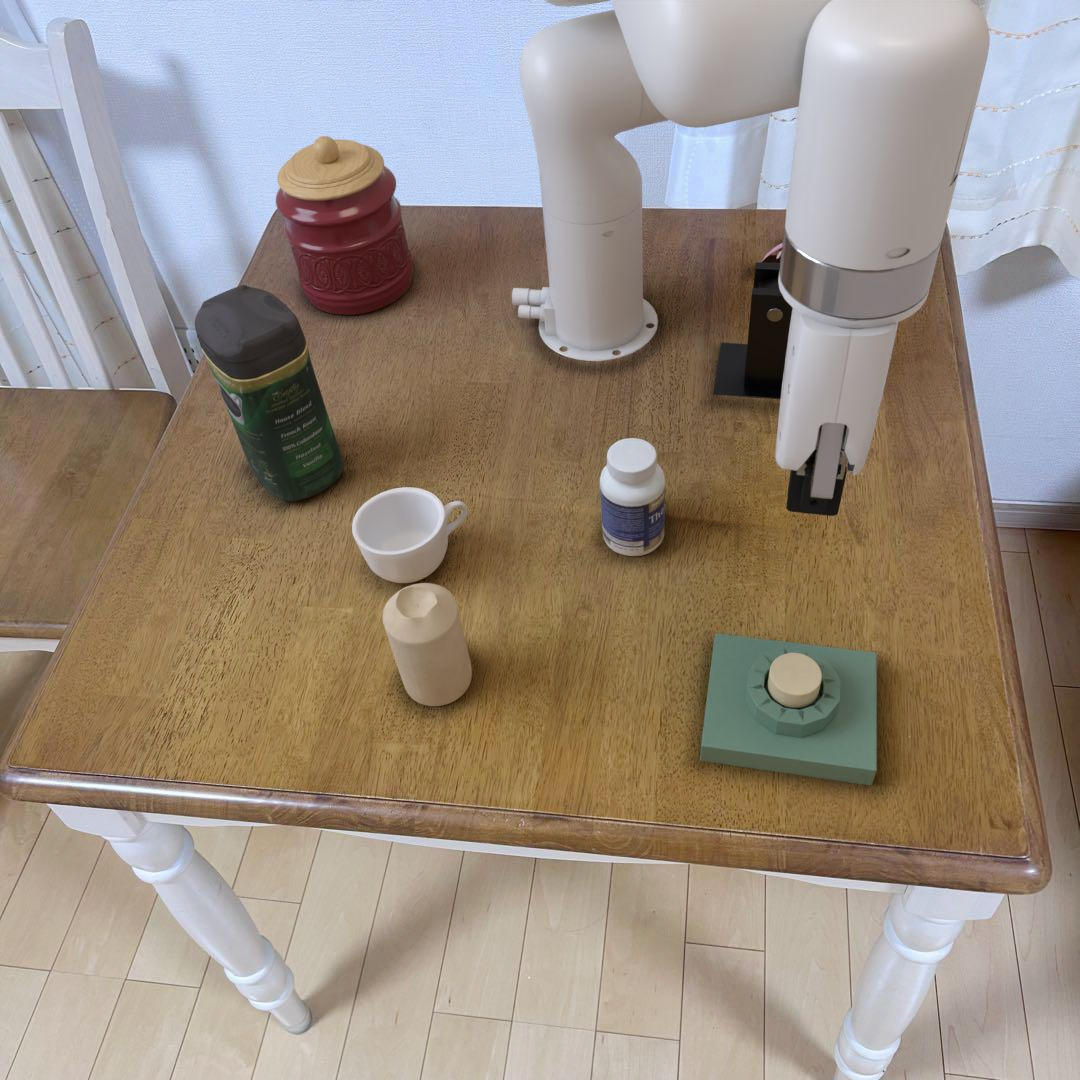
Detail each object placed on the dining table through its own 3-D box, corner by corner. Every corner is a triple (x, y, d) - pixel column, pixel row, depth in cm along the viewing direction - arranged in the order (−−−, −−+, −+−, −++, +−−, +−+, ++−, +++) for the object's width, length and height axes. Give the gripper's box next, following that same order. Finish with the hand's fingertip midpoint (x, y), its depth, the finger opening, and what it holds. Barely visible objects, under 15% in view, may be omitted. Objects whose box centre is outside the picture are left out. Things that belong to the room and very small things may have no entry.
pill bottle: (660, 561, 87) (661, 481, 79) (598, 555, 88) (593, 475, 80) (668, 515, 90) (669, 434, 83) (608, 509, 91) (604, 429, 84)
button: (766, 704, 72) (768, 691, 71) (769, 663, 75) (771, 649, 73) (818, 711, 72) (821, 698, 70) (819, 669, 74) (822, 655, 73)
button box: (699, 761, 74) (701, 732, 71) (713, 649, 80) (716, 618, 77) (871, 786, 72) (881, 757, 69) (872, 668, 78) (880, 637, 75)
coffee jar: (359, 476, 97) (310, 314, 83) (285, 516, 94) (222, 356, 80) (310, 424, 102) (257, 265, 88) (239, 462, 99) (173, 303, 85)
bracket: (820, 358, 102) (836, 256, 94) (818, 411, 97) (834, 308, 88) (720, 351, 104) (726, 251, 96) (712, 403, 99) (718, 302, 90)
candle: (483, 657, 82) (465, 578, 74) (457, 714, 78) (436, 638, 71) (420, 642, 83) (397, 563, 76) (392, 697, 80) (365, 621, 72)
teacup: (385, 610, 86) (372, 569, 82) (352, 551, 90) (338, 510, 86) (491, 560, 88) (483, 518, 84) (453, 506, 93) (444, 464, 89)
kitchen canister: (390, 323, 112) (355, 175, 99) (285, 311, 115) (237, 166, 102) (431, 256, 120) (403, 111, 107) (331, 247, 123) (292, 104, 110)
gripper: (789, 177, 57) (761, 420, 71) (770, 347, 48) (742, 588, 62) (931, 183, 55) (873, 430, 69) (939, 360, 46) (871, 604, 60)
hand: (812, 504), depth 65 cm, fingers closed
